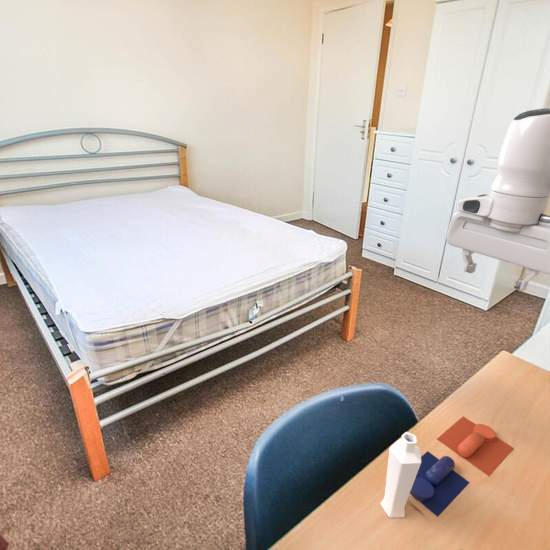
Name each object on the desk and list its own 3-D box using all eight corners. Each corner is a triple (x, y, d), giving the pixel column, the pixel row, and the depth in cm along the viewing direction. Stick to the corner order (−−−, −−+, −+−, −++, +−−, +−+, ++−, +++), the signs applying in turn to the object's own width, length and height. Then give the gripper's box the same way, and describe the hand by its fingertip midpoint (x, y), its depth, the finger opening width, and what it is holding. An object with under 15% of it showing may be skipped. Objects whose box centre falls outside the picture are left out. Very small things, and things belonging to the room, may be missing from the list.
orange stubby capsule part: (469, 464, 68) (472, 455, 67) (450, 451, 70) (453, 441, 69) (497, 436, 74) (500, 427, 73) (478, 425, 76) (481, 416, 76)
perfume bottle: (415, 515, 60) (434, 445, 54) (392, 525, 58) (408, 454, 52) (396, 489, 64) (412, 422, 58) (374, 498, 62) (388, 429, 56)
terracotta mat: (462, 418, 79) (463, 416, 79) (513, 450, 72) (514, 448, 72) (435, 441, 73) (436, 438, 73) (488, 478, 66) (489, 476, 66)
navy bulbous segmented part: (440, 458, 69) (442, 448, 68) (459, 472, 66) (462, 462, 65) (405, 490, 63) (407, 480, 62) (424, 506, 60) (427, 496, 59)
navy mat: (427, 453, 71) (427, 450, 70) (469, 484, 65) (469, 482, 65) (394, 482, 65) (394, 479, 65) (436, 519, 59) (437, 516, 59)
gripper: (591, 219, 61) (562, 296, 67) (467, 195, 76) (452, 260, 81) (577, 225, 58) (548, 306, 63) (450, 199, 72) (435, 266, 78)
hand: (493, 280), depth 72 cm, fingers open, 8 cm apart
